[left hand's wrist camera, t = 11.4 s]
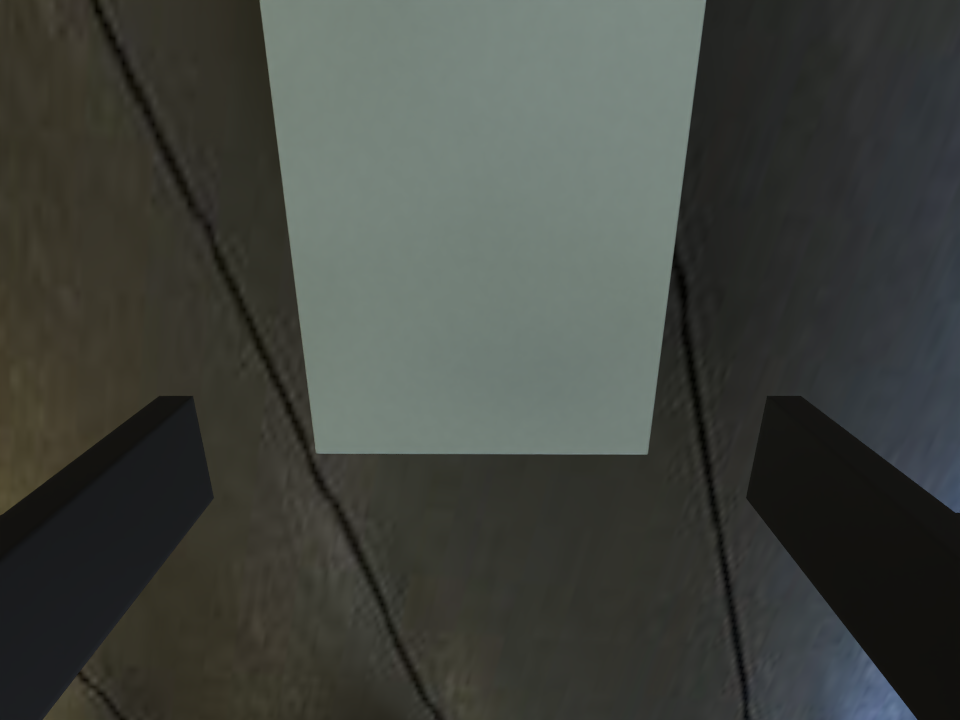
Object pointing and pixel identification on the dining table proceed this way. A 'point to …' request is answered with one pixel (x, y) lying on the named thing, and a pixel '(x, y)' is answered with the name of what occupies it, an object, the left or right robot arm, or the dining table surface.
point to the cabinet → (482, 215)
